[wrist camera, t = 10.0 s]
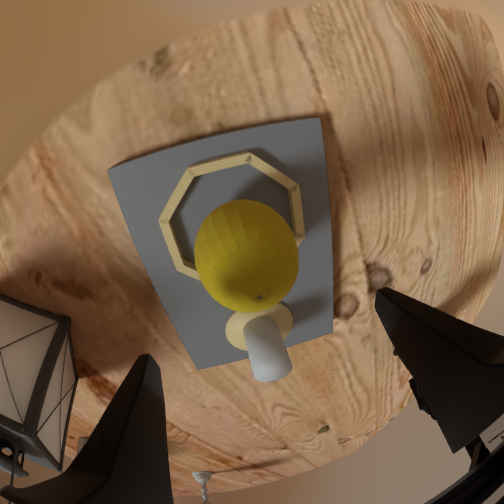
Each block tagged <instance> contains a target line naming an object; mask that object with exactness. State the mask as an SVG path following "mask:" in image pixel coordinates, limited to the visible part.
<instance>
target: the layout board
mask: <svg viewBox="0 0 504 504" xmlns="http://www.w3.org/2000/svg"><path fill="white" fill-rule="evenodd" d="M107 171H108V174H109V177H110V180H111V183H112V186H113V189H114V192H115V194H116V197H117V200H118V203H119V205H120V208H121V211H122V214H123V216H124V219H125V221H126V224H127V226H128V229H129V231H130V234H131V236H132V239H133V241H134V244H135V246H136V248H137V251H138V253H139V255H140V258H141V260H142V262H143V265H144V267H145V269H146V271H147V273H148V276H149V278H150V280H151V282H152V284H153V286H154V288H155V291H156V293H157V295H158V297H159V299H160V301H161V303H162V305H163V307H164V309H165V311H166V313H167V315H168V317H169V319H170V320H171V322H172V324H173V326H174V328H175V330H176V332H177V334H178V335H179V337H180V339H181V341H182V343H183V345H184V346H185V348H186V350H187V352H188V353H189V355H190V357H191V359H192V360H193V362H194V364H195V365H196V367H197V369H198V370H199V369H204V368H208V367H213V366H218V365H222V364H226V363H231V362H235V361H239V360H243V359H247V358H249V359H250V363H251V367H252V371H253V375H254V377H255V379H257V380H259V381H262V382H271V381H276V380H279V379H281V378H283V377H285V376H286V375H287V374H288V373H289V372H290V371H291V369H292V363H291V361H290V358H289V355H288V353H287V350H286V348H287V347H290V346H293V345H297V344H300V343H303V342H306V341H309V340H312V339H315V338H318V337H321V336H324V335H327V334H330V333H333V254H332V232H331V215H330V201H329V189H328V178H327V168H326V159H325V151H324V142H323V135H322V127H321V120H320V118H319V117H306V118H298V119H291V120H284V121H278V122H272V123H266V124H261V125H255V126H250V127H245V128H240V129H236V130H231V131H227V132H222V133H218V134H214V135H210V136H206V137H202V138H198V139H194V140H191V141H187V142H183V143H180V144H176V145H173V146H170V147H166V148H163V149H160V150H157V151H154V152H151V153H148V154H145V155H142V156H139V157H136V158H133V159H130V160H127V161H125V162H122V163H119V164H117V165H114V166H112V167H111V168H110V169H108V170H107ZM242 199H247V200H253V201H258V202H260V203H263V204H265V205H267V206H269V207H271V208H272V209H273V210H275V211H276V212H277V213H278V214H279V215H281V216H282V217H283V218H284V220H285V221H286V223H287V224H288V226H289V227H290V229H291V230H292V232H293V235H294V238H295V241H296V244H297V248H298V253H299V270H298V274H297V278H296V281H295V283H294V285H293V287H292V289H291V290H290V292H289V293H288V294H287V295H286V296H285V297H284V299H283V300H281V301H280V302H279V303H277V304H276V305H275V306H273V307H271V308H269V309H266V310H263V311H259V312H252V313H244V312H238V311H234V310H231V309H229V308H226V307H224V306H223V305H221V304H220V303H218V302H217V301H216V300H214V299H213V298H212V296H211V295H210V294H209V293H208V291H207V290H206V289H205V287H204V286H203V284H202V282H201V279H200V277H199V274H198V272H197V269H196V266H195V256H194V246H195V241H196V236H197V232H198V230H199V228H200V226H201V224H202V223H203V221H204V219H205V218H206V217H207V216H208V215H209V214H210V213H211V212H212V211H213V210H214V209H216V208H217V207H219V206H220V205H222V204H224V203H227V202H230V201H233V200H242Z"/></svg>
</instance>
